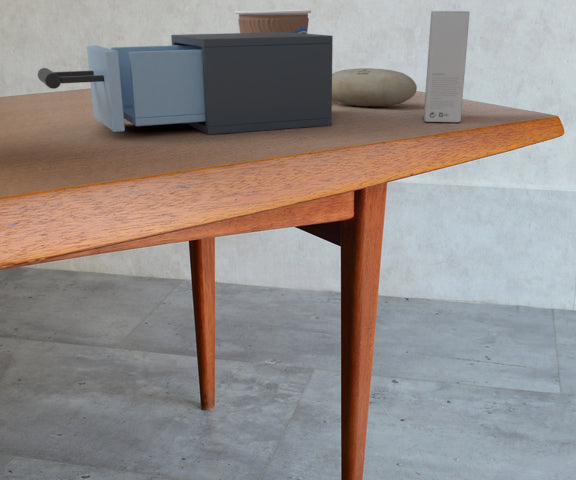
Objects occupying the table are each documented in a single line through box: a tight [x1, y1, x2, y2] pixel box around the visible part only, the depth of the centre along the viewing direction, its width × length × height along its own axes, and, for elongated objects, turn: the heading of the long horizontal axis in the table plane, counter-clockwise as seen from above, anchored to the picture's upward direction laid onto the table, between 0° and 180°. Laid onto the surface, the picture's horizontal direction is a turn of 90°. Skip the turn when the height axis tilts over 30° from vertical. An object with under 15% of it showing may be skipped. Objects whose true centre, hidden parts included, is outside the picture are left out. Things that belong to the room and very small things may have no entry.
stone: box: [332, 67, 418, 107], centre depth 97 cm, size 6×6×12 cm
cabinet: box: [170, 32, 334, 136], centre depth 84 cm, size 15×13×10 cm
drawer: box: [37, 44, 205, 133], centre depth 79 cm, size 19×11×8 cm, turn 114°
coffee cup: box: [235, 9, 312, 34], centre depth 102 cm, size 10×10×12 cm
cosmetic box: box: [423, 10, 470, 123], centre depth 85 cm, size 6×4×12 cm
